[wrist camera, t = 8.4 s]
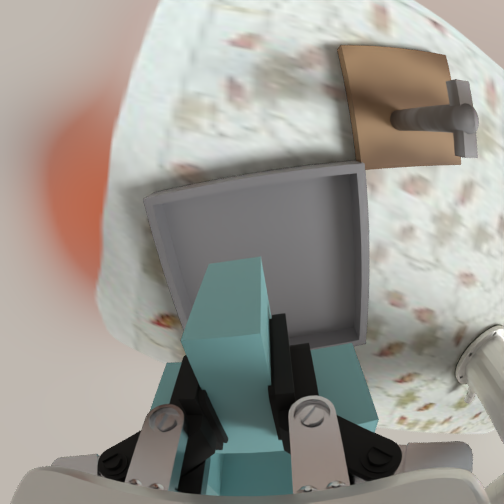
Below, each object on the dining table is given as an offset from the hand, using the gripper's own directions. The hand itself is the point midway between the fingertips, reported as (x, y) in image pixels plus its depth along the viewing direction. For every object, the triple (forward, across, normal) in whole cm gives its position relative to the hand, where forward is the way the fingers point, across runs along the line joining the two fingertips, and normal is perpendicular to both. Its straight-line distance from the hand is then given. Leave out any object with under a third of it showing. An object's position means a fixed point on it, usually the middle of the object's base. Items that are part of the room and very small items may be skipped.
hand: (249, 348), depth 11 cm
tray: (+18, 0, +5) cm, 19 cm away
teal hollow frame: (+1, 0, +4) cm, 4 cm away
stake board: (+18, -16, -10) cm, 26 cm away
